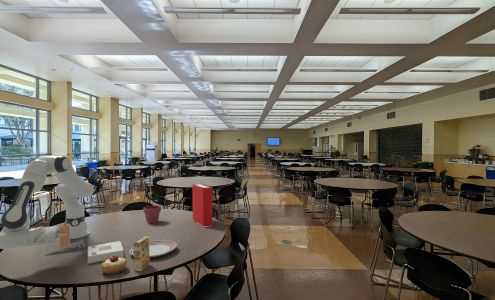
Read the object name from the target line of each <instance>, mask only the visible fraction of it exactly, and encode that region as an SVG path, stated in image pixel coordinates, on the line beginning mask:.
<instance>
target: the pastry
mask: <svg viewBox="0 0 495 300" xmlns="http://www.w3.org/2000/svg"><path fill="white" fill-rule="evenodd" d="M127 262H128V260H127V259H126V258H125V257H124V256H123V257H119V258H118V256H117V255H113V256H111V257H110V259H107V260H104V261H102V262H101V265H100V266H101V267H100V268H101V271H102V273H104V274H105V275H116V274H119V273H122V272H123V271H124V270H125V269H126V266H127V264H128V263H127Z"/></svg>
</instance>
